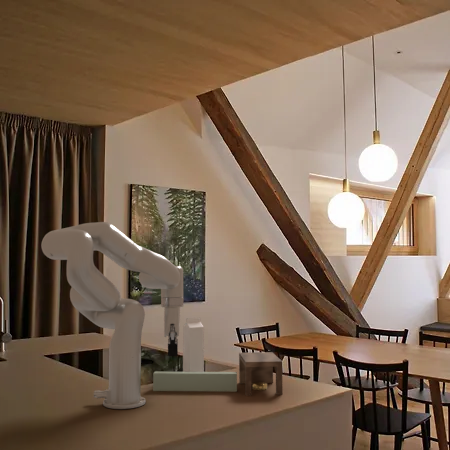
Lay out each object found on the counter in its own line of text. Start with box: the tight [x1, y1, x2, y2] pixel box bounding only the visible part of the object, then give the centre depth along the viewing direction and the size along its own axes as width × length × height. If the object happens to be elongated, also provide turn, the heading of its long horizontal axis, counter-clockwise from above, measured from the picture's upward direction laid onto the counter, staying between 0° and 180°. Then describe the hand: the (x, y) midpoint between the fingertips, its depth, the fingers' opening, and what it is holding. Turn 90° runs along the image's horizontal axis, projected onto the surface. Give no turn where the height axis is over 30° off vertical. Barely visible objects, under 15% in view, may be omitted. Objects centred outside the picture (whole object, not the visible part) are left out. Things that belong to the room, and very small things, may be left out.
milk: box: [182, 317, 205, 372], centre depth 198 cm, size 6×6×22 cm
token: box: [252, 382, 268, 391], centre depth 180 cm, size 5×5×2 cm
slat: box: [152, 371, 238, 392], centre depth 178 cm, size 28×3×6 cm, turn 88°
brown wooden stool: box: [238, 351, 284, 396], centre depth 180 cm, size 12×18×11 cm, turn 5°
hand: (172, 353), depth 178 cm, fingers open, 9 cm apart
